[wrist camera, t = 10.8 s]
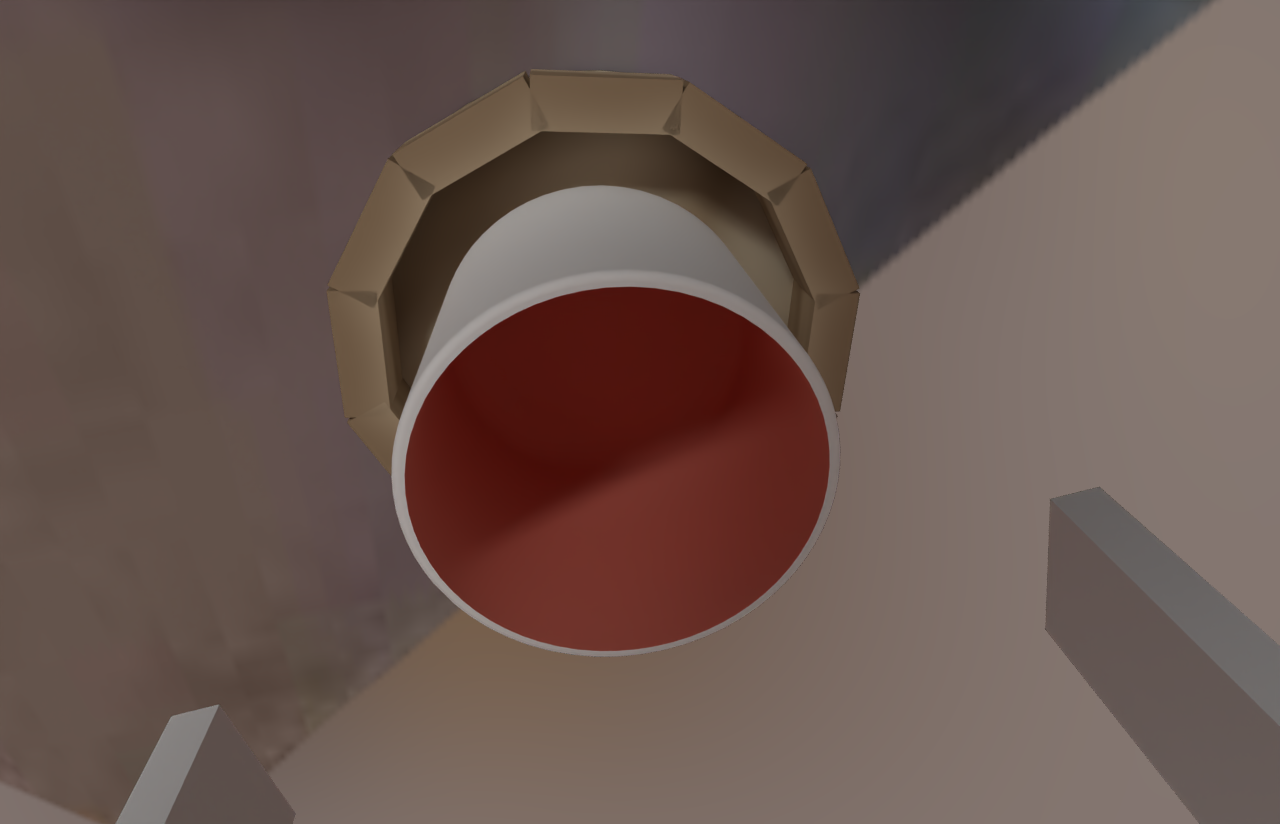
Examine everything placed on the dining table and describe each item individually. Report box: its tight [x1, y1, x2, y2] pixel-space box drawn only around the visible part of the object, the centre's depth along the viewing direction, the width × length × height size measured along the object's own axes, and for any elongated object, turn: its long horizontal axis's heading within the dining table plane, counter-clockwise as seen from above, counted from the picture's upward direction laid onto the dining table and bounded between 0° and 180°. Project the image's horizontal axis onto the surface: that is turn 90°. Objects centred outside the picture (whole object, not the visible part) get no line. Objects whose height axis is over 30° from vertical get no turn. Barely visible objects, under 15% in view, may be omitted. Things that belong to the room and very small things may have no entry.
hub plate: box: [327, 69, 860, 475], centre depth 26 cm, size 16×16×3 cm
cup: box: [391, 185, 840, 657], centre depth 22 cm, size 10×10×10 cm
